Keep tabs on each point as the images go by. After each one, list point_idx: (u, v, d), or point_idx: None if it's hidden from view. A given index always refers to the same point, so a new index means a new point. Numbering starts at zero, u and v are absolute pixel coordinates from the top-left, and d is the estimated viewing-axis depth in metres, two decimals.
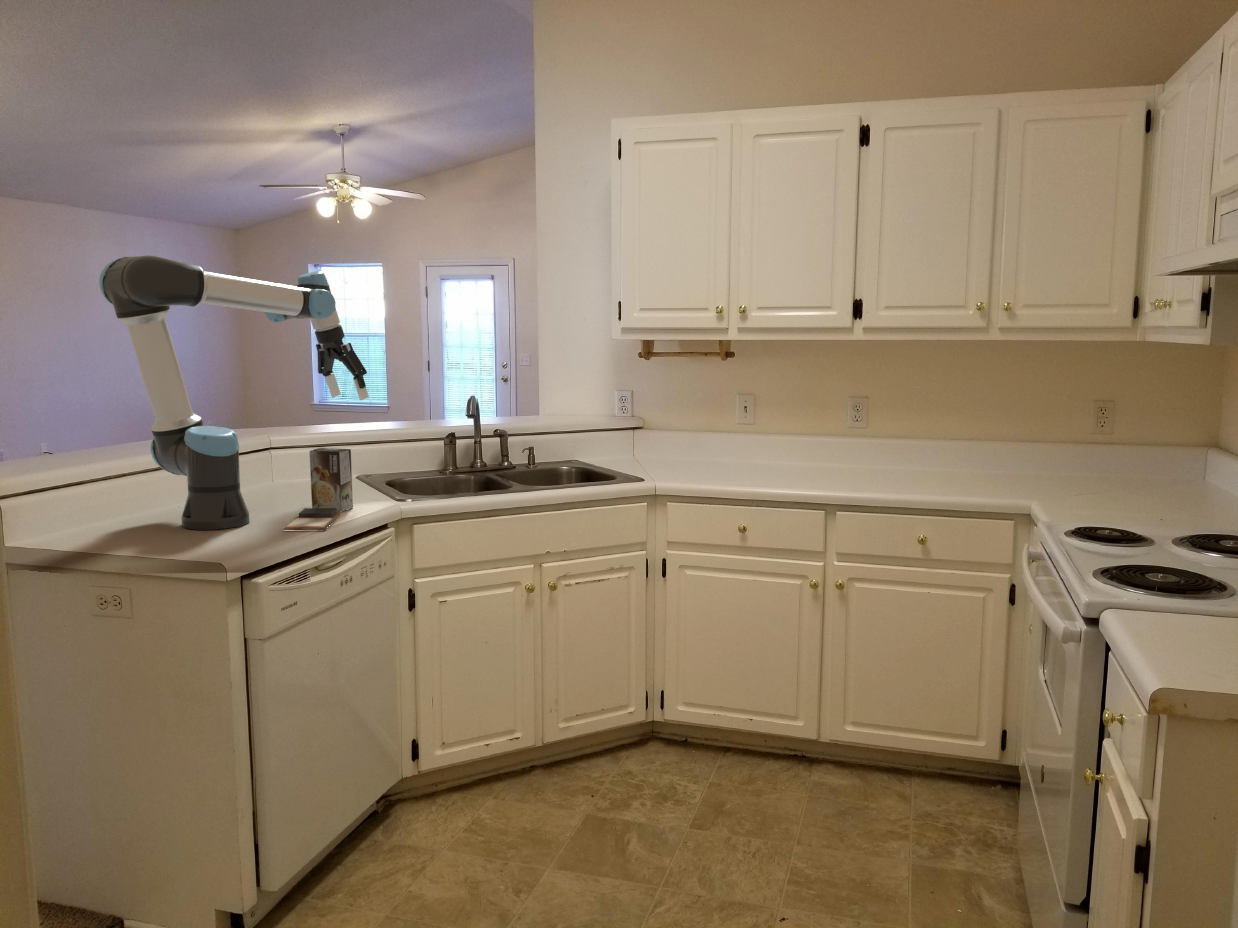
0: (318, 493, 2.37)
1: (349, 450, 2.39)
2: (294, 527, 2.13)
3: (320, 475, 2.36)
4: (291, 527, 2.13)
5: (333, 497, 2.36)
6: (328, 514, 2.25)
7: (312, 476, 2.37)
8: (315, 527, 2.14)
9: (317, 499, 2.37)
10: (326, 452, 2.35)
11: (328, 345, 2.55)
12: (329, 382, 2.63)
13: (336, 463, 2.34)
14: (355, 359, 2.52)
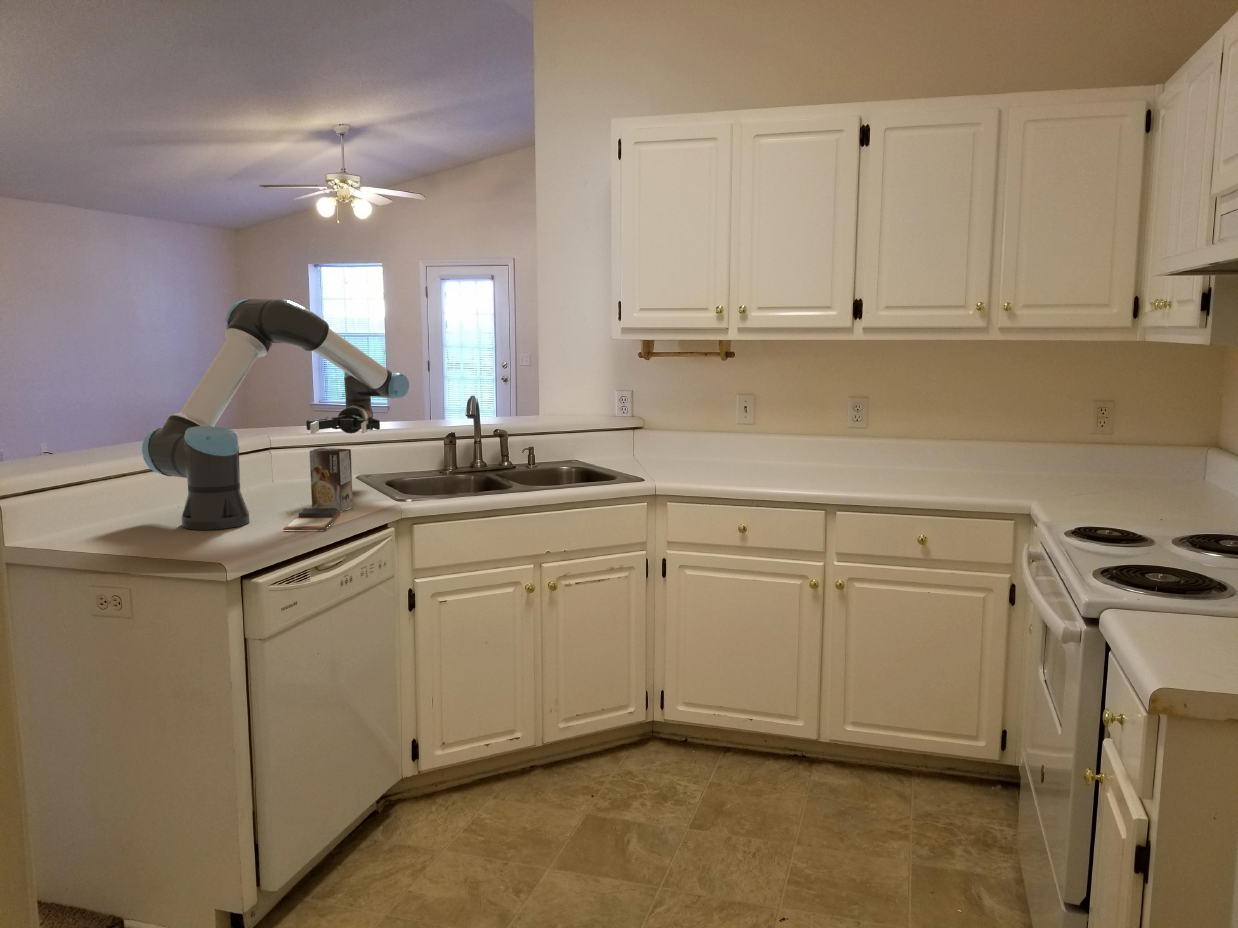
0: (318, 493, 2.37)
1: (349, 450, 2.39)
2: (294, 527, 2.13)
3: (320, 475, 2.36)
4: (291, 527, 2.13)
5: (333, 497, 2.36)
6: (328, 514, 2.25)
7: (312, 476, 2.37)
8: (315, 527, 2.14)
9: (317, 499, 2.37)
10: (326, 452, 2.35)
11: (346, 417, 2.62)
12: (317, 423, 2.50)
13: (336, 463, 2.34)
14: None
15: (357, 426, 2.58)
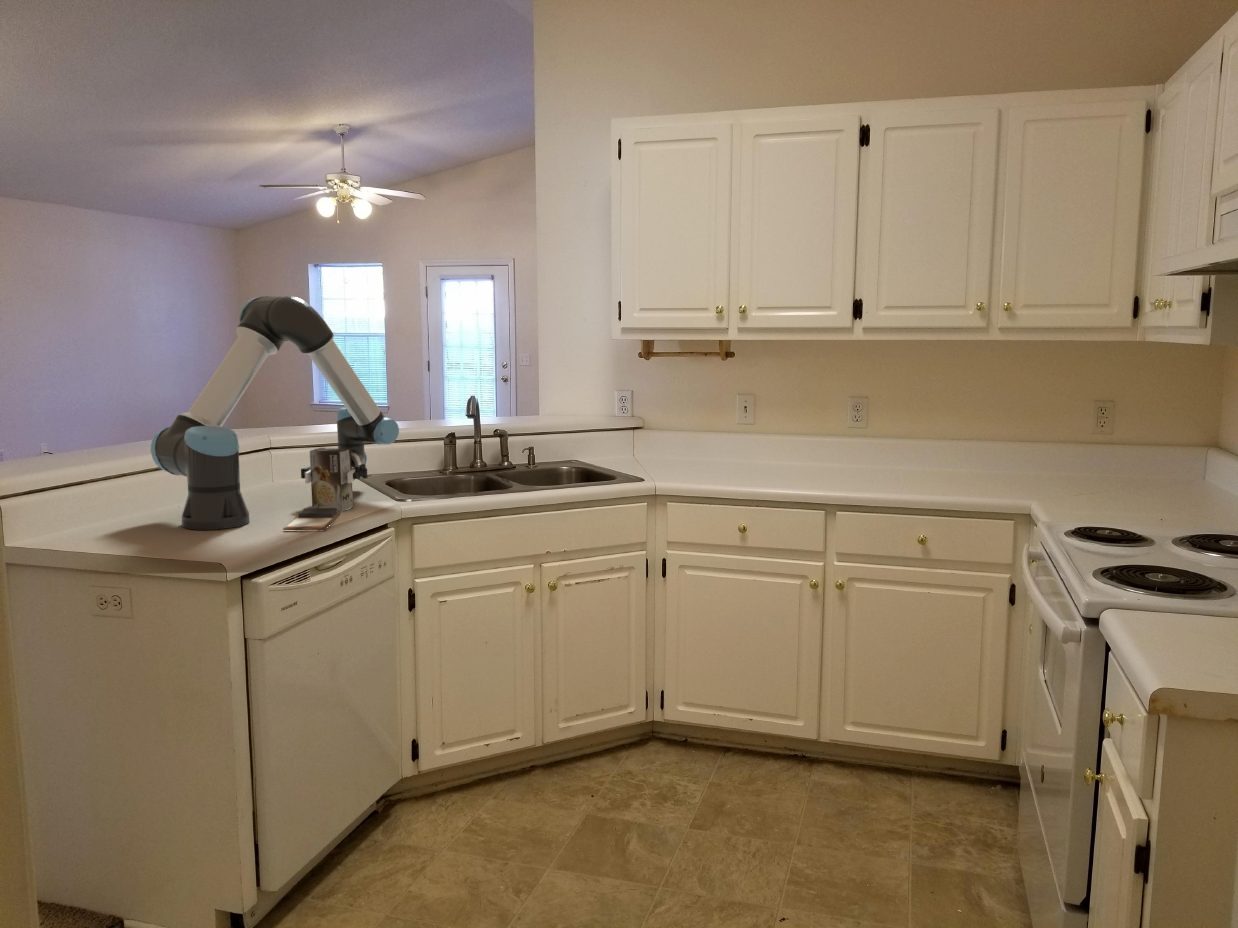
0: (319, 492, 2.37)
1: (349, 450, 2.39)
2: (294, 527, 2.13)
3: (320, 475, 2.36)
4: (291, 527, 2.13)
5: (333, 496, 2.36)
6: (328, 514, 2.25)
7: (312, 476, 2.36)
8: (315, 527, 2.14)
9: (317, 499, 2.37)
10: (326, 452, 2.35)
11: None
12: None
13: (337, 463, 2.34)
14: None
15: None
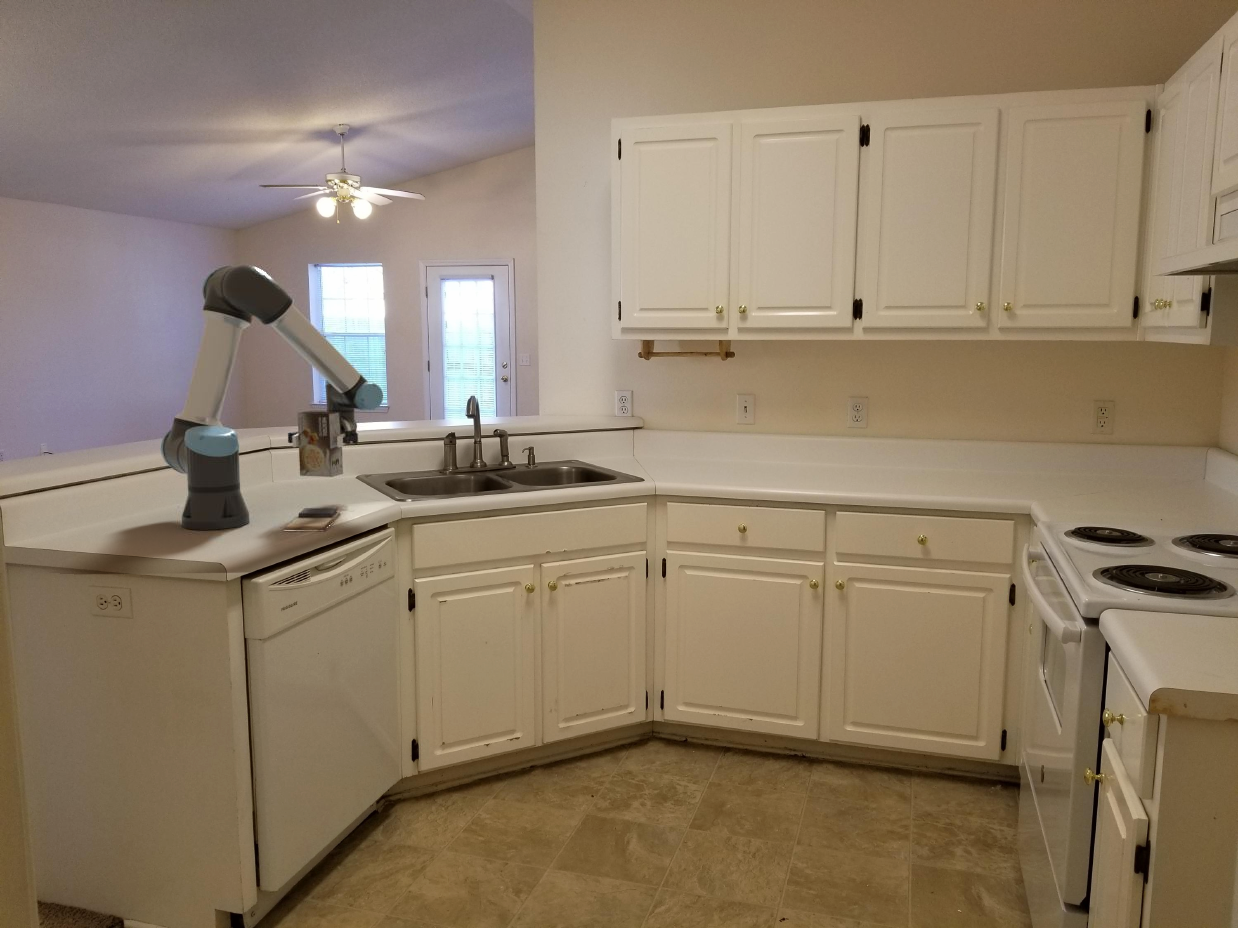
0: (307, 457, 2.25)
1: (339, 413, 2.28)
2: (294, 527, 2.13)
3: (308, 439, 2.24)
4: (291, 527, 2.13)
5: (322, 461, 2.24)
6: (328, 514, 2.25)
7: (300, 440, 2.25)
8: (315, 527, 2.14)
9: (305, 464, 2.25)
10: (315, 414, 2.23)
11: None
12: None
13: (326, 425, 2.23)
14: None
15: None
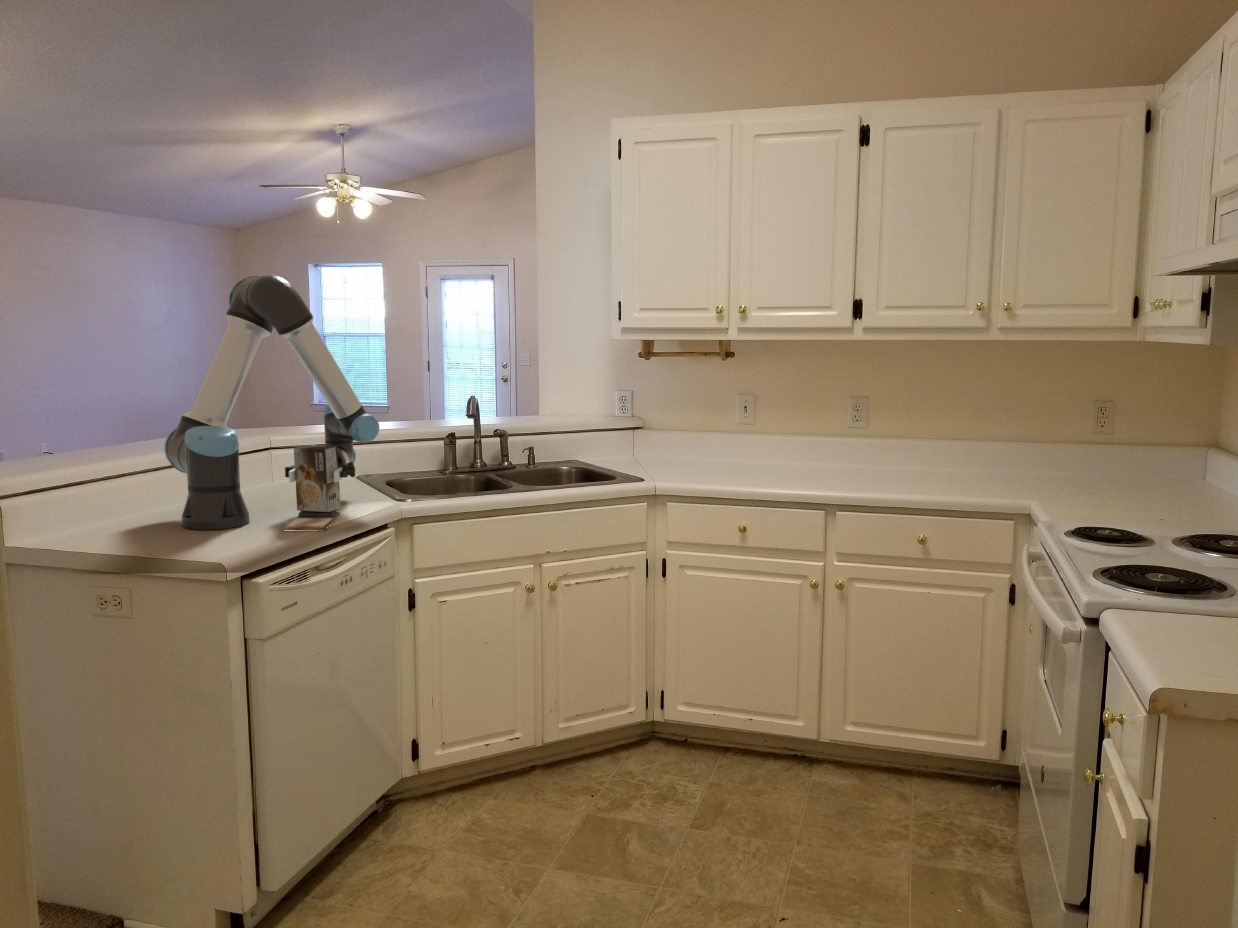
0: (304, 492, 2.24)
1: (336, 447, 2.26)
2: (294, 527, 2.13)
3: (305, 474, 2.23)
4: (291, 527, 2.13)
5: (319, 496, 2.23)
6: (328, 514, 2.25)
7: (297, 475, 2.24)
8: (315, 527, 2.14)
9: (302, 499, 2.25)
10: (311, 449, 2.22)
11: None
12: None
13: (322, 461, 2.22)
14: None
15: None
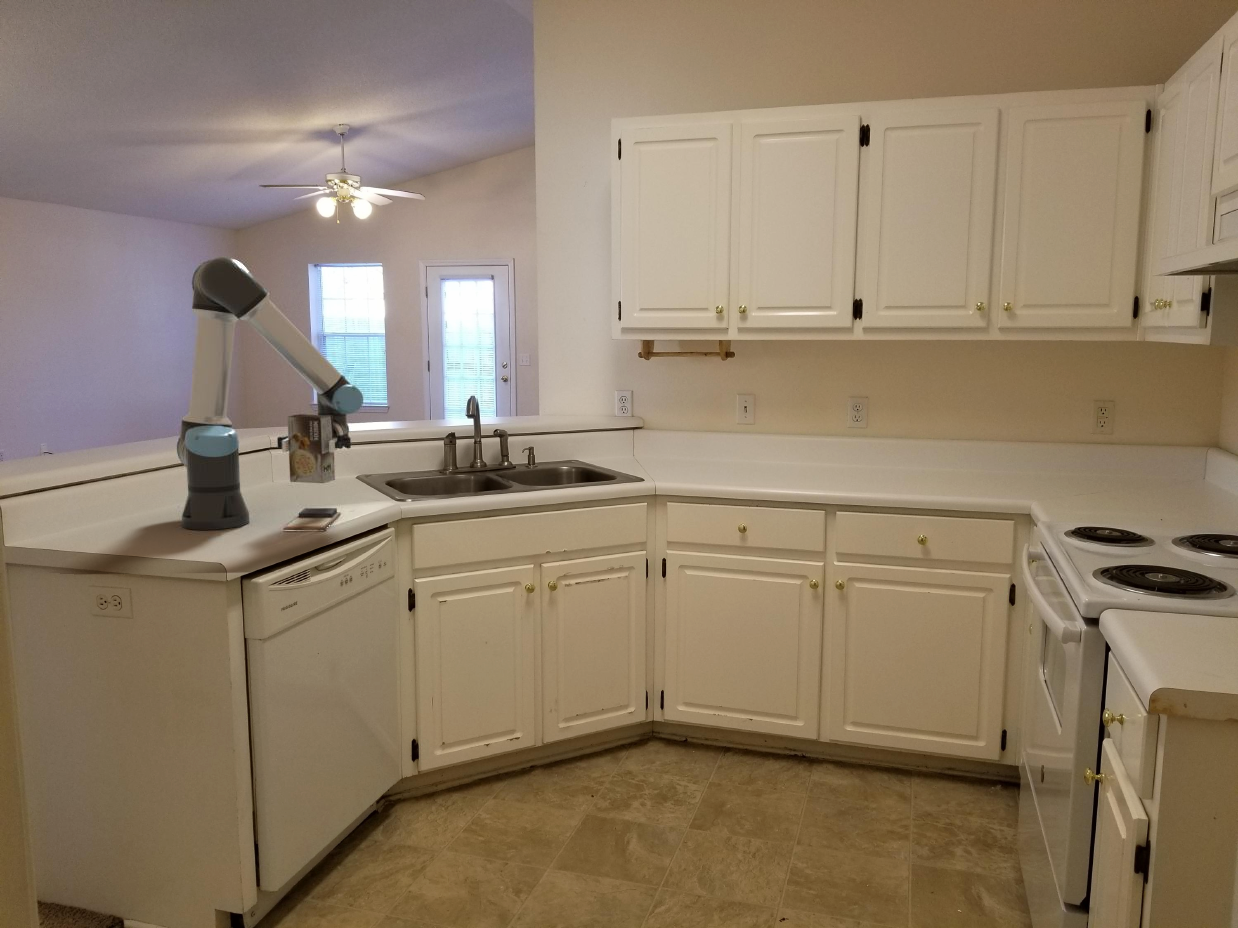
0: (297, 463, 2.16)
1: (331, 416, 2.18)
2: (294, 527, 2.13)
3: (299, 443, 2.15)
4: (291, 527, 2.13)
5: (313, 467, 2.15)
6: (328, 514, 2.25)
7: (290, 444, 2.16)
8: (315, 527, 2.14)
9: (296, 470, 2.16)
10: (306, 418, 2.14)
11: None
12: None
13: (317, 430, 2.14)
14: None
15: None
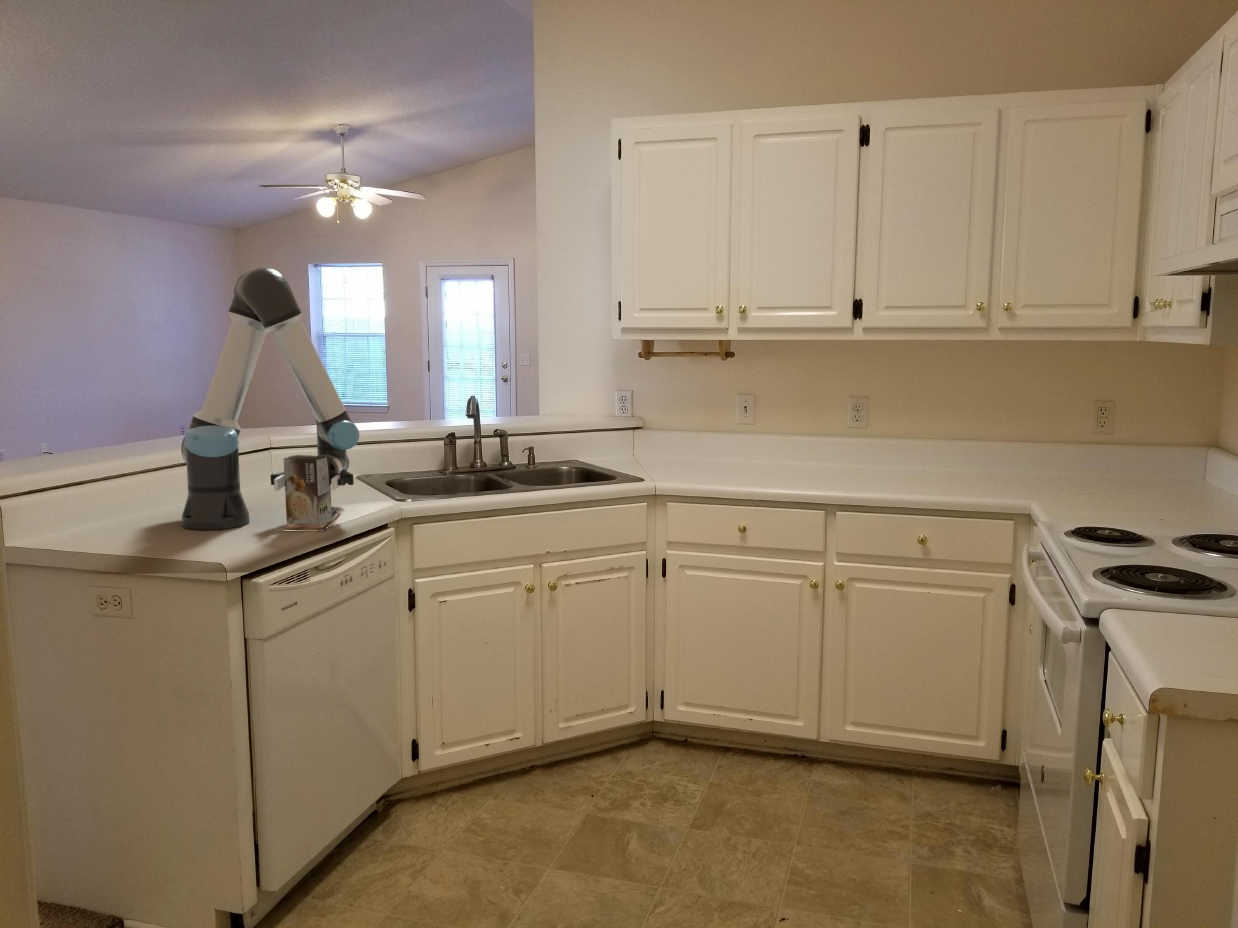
0: (294, 504, 2.15)
1: (327, 457, 2.18)
2: (294, 527, 2.13)
3: (295, 485, 2.14)
4: (291, 527, 2.13)
5: (310, 509, 2.15)
6: None
7: (286, 486, 2.15)
8: (315, 527, 2.14)
9: (292, 511, 2.16)
10: (302, 460, 2.13)
11: None
12: (282, 477, 2.17)
13: (313, 472, 2.13)
14: None
15: None
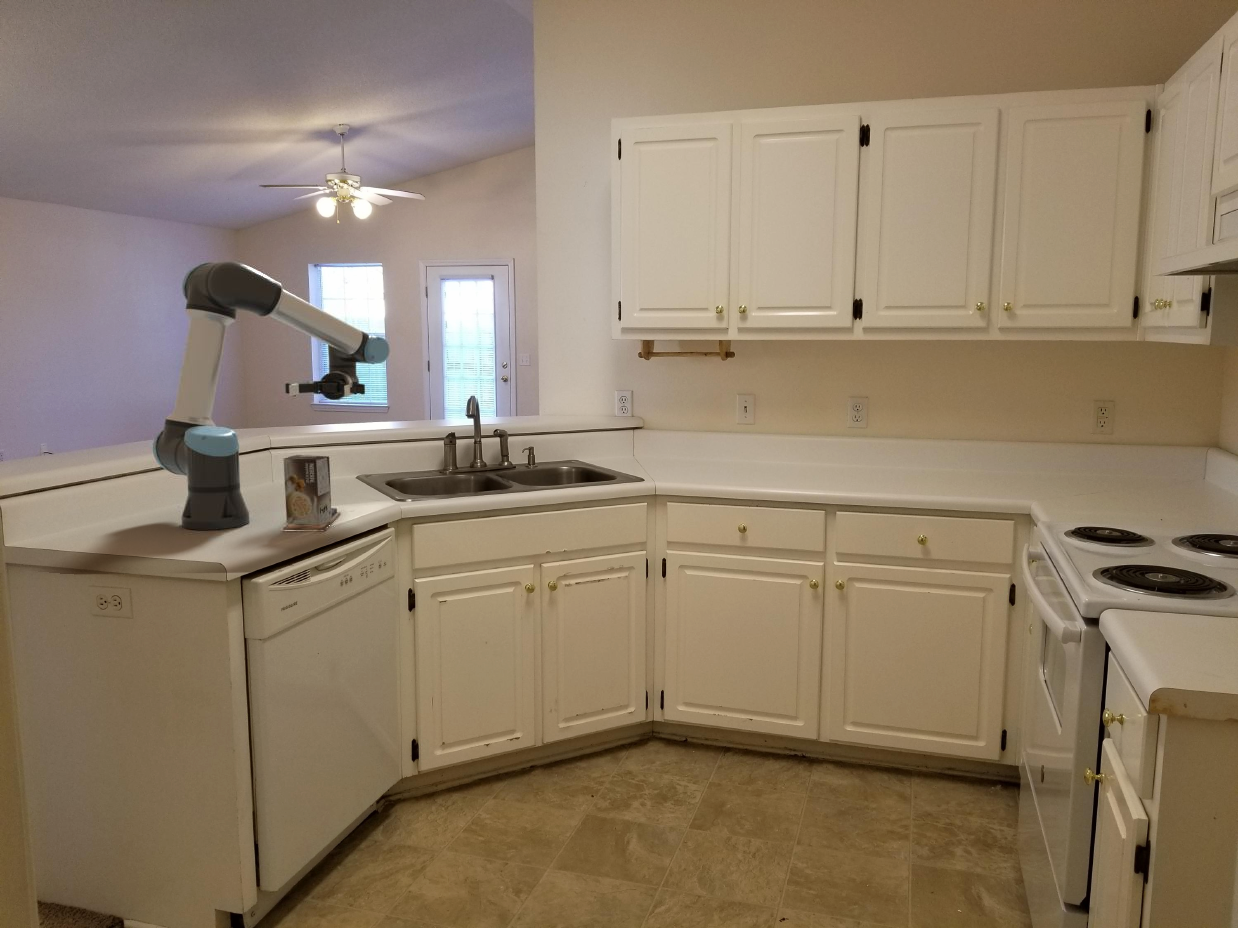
0: (294, 504, 2.15)
1: (327, 457, 2.18)
2: (294, 527, 2.13)
3: (295, 485, 2.14)
4: (291, 527, 2.13)
5: (310, 509, 2.15)
6: None
7: (286, 486, 2.15)
8: (315, 527, 2.14)
9: (292, 511, 2.16)
10: (302, 460, 2.13)
11: (329, 382, 2.44)
12: (296, 385, 2.32)
13: (313, 472, 2.13)
14: None
15: (340, 391, 2.40)
